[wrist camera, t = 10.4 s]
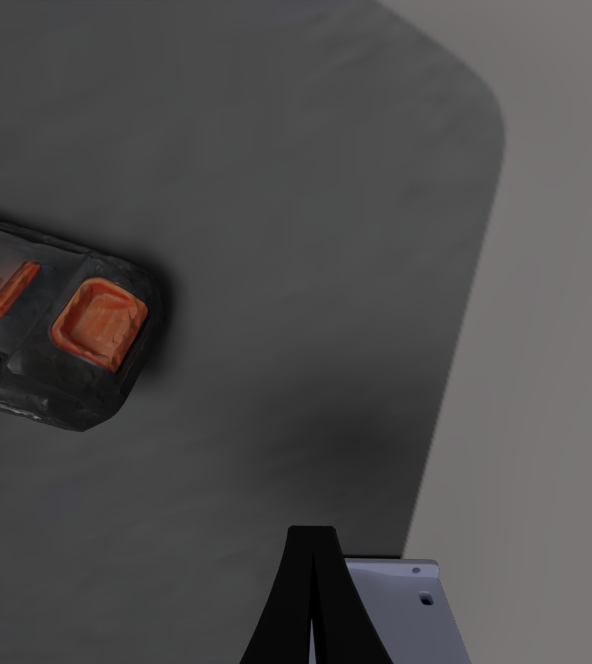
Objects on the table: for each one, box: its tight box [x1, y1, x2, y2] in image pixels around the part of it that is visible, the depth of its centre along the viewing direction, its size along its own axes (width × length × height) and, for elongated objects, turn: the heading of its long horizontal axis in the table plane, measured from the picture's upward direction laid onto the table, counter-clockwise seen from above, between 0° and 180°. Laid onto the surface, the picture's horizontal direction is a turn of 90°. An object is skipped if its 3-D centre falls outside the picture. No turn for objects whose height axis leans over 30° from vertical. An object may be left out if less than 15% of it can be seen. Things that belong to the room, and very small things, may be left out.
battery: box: [0, 222, 164, 432], centre depth 15 cm, size 12×8×7 cm
